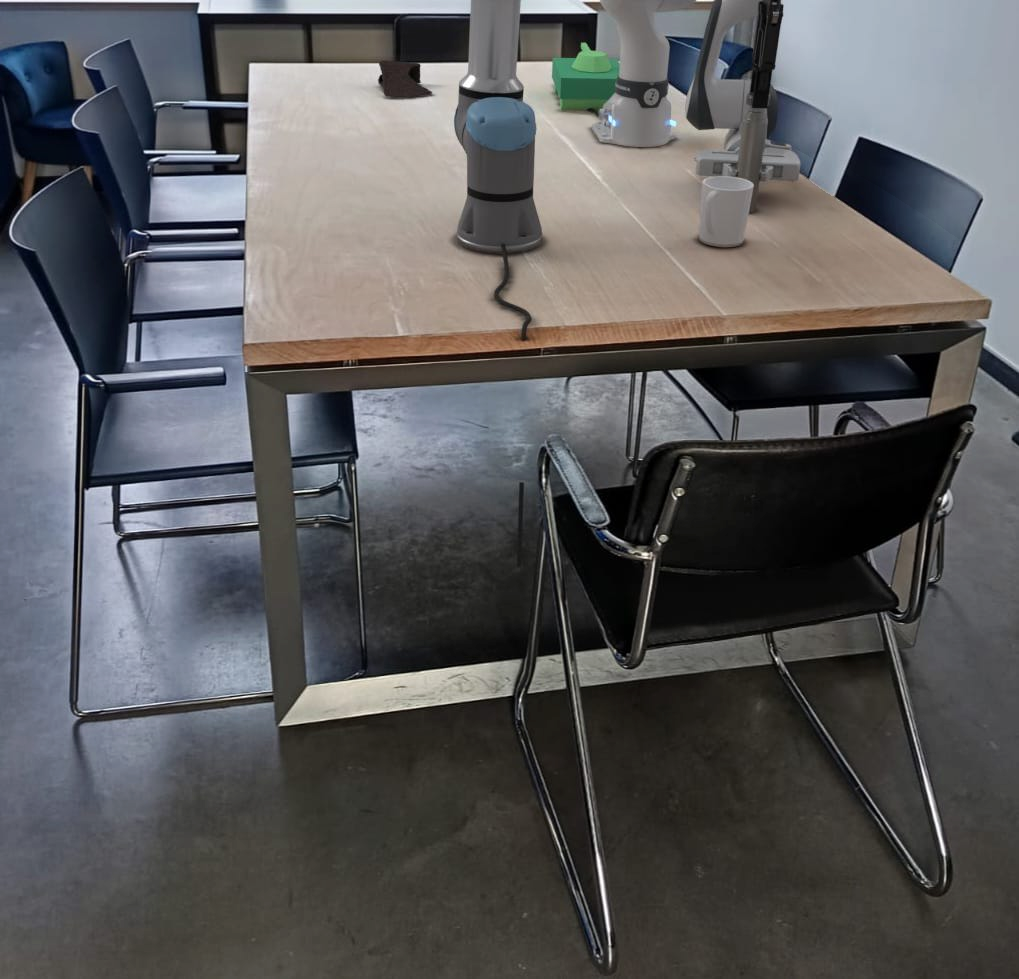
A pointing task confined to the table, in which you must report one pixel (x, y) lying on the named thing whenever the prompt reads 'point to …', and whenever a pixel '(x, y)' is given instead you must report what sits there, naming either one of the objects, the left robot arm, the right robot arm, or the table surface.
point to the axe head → (401, 79)
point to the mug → (724, 210)
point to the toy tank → (585, 79)
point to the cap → (750, 99)
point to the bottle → (752, 149)
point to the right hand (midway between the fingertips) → (748, 176)
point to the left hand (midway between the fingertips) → (757, 104)
